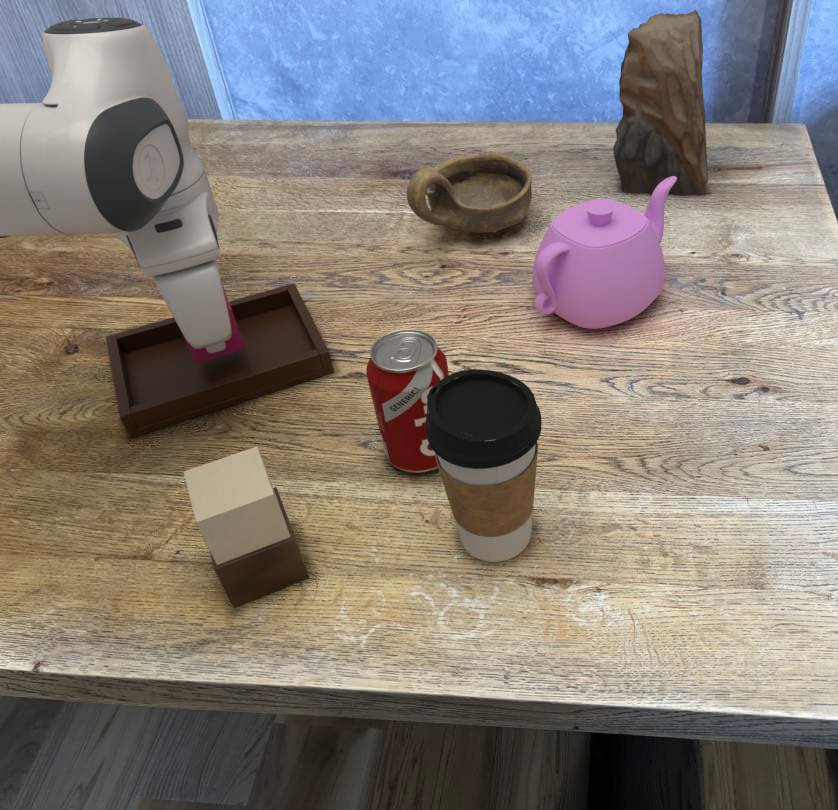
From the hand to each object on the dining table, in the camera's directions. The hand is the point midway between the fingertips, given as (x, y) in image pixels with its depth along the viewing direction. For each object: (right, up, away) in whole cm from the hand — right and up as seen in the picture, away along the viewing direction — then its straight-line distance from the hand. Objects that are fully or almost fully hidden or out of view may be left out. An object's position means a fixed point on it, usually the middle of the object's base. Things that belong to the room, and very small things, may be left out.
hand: (210, 331), depth 83 cm
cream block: (+11, -17, -20) cm, 28 cm away
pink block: (0, -1, +1) cm, 2 cm away
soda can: (+22, -12, -7) cm, 26 cm away
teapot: (+41, +5, +10) cm, 42 cm away
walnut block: (+11, -20, -16) cm, 28 cm away
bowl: (+25, +15, +22) cm, 37 cm away
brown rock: (+50, +23, +30) cm, 63 cm away
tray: (0, -3, +3) cm, 4 cm away
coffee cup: (+30, -18, -15) cm, 38 cm away
